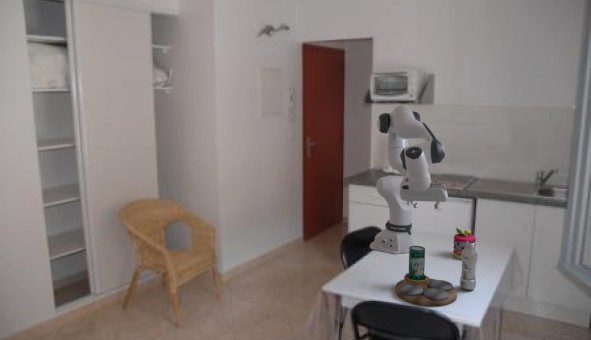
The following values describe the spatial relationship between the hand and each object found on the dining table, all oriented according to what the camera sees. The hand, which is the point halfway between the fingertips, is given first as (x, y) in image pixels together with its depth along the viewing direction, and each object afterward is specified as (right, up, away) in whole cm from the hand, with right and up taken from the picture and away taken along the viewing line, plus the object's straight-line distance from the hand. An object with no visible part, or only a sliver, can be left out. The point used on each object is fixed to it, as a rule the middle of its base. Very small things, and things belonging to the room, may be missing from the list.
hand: (426, 207), depth 210 cm
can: (-7, -31, -11) cm, 34 cm away
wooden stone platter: (-5, -34, -18) cm, 38 cm away
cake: (+25, -27, +25) cm, 45 cm away
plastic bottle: (+14, -33, -13) cm, 38 cm away
